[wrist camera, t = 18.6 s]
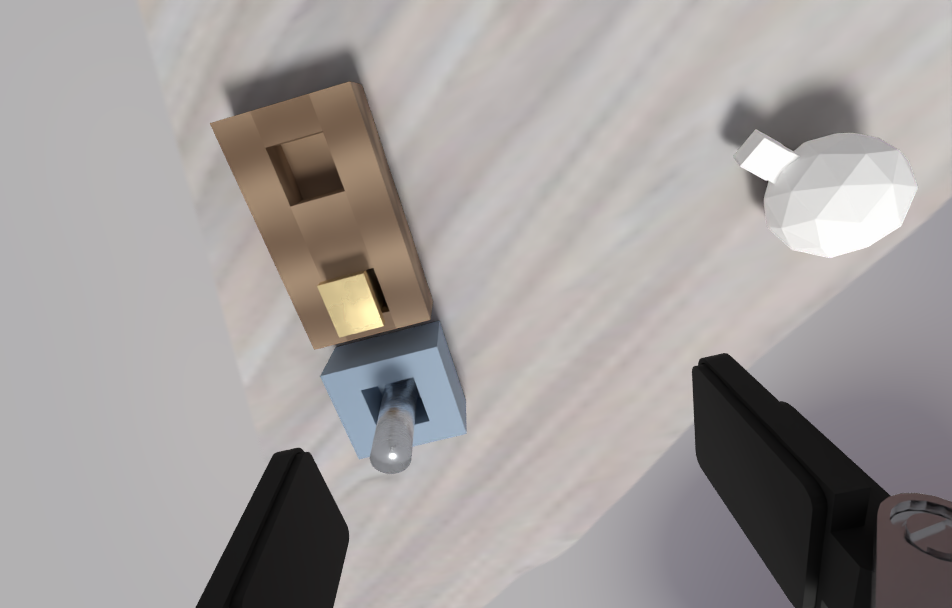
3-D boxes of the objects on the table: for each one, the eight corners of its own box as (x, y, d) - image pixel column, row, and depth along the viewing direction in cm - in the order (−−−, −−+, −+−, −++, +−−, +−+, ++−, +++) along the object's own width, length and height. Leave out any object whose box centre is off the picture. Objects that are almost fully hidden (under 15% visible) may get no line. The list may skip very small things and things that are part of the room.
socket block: (236, 122, 35) (209, 123, 31) (361, 84, 34) (349, 81, 30) (327, 328, 41) (314, 349, 38) (433, 301, 41) (430, 319, 37)
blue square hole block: (335, 347, 42) (320, 376, 38) (439, 320, 41) (437, 346, 37) (369, 424, 46) (358, 459, 41) (465, 400, 45) (466, 433, 40)
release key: (333, 265, 38) (317, 286, 34) (374, 254, 38) (363, 273, 33) (352, 312, 40) (339, 337, 35) (392, 302, 39) (383, 326, 35)
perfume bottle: (907, 154, 35) (777, 78, 34) (986, 200, 28) (824, 106, 27) (811, 240, 41) (696, 177, 40) (857, 299, 33) (718, 222, 32)
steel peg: (381, 372, 42) (364, 447, 33) (412, 364, 42) (404, 437, 33) (391, 398, 43) (377, 477, 34) (422, 391, 43) (416, 468, 34)
